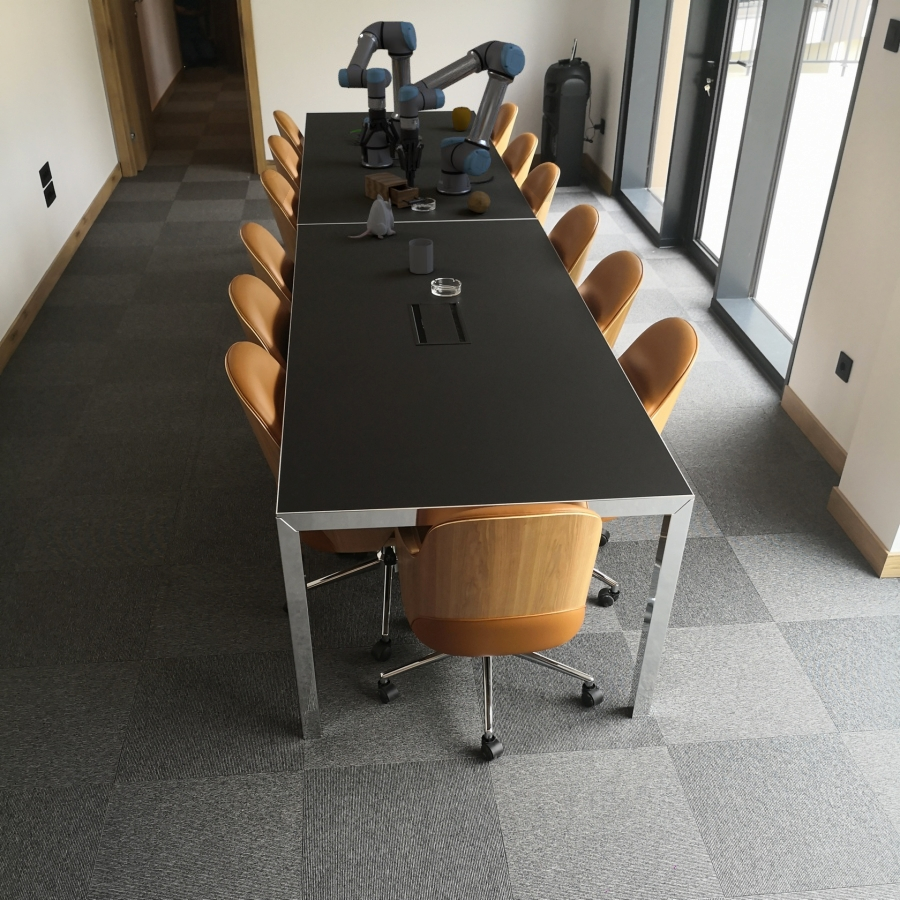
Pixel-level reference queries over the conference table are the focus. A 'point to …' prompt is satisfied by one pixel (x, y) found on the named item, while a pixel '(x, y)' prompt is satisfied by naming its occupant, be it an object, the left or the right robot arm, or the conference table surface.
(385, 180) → the cabinet
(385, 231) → the toy
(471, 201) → the potato
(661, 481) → the conference table surface
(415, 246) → the cup
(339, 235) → the conference table surface
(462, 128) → the apple
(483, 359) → the conference table surface
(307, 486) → the conference table surface
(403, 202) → the drawer
